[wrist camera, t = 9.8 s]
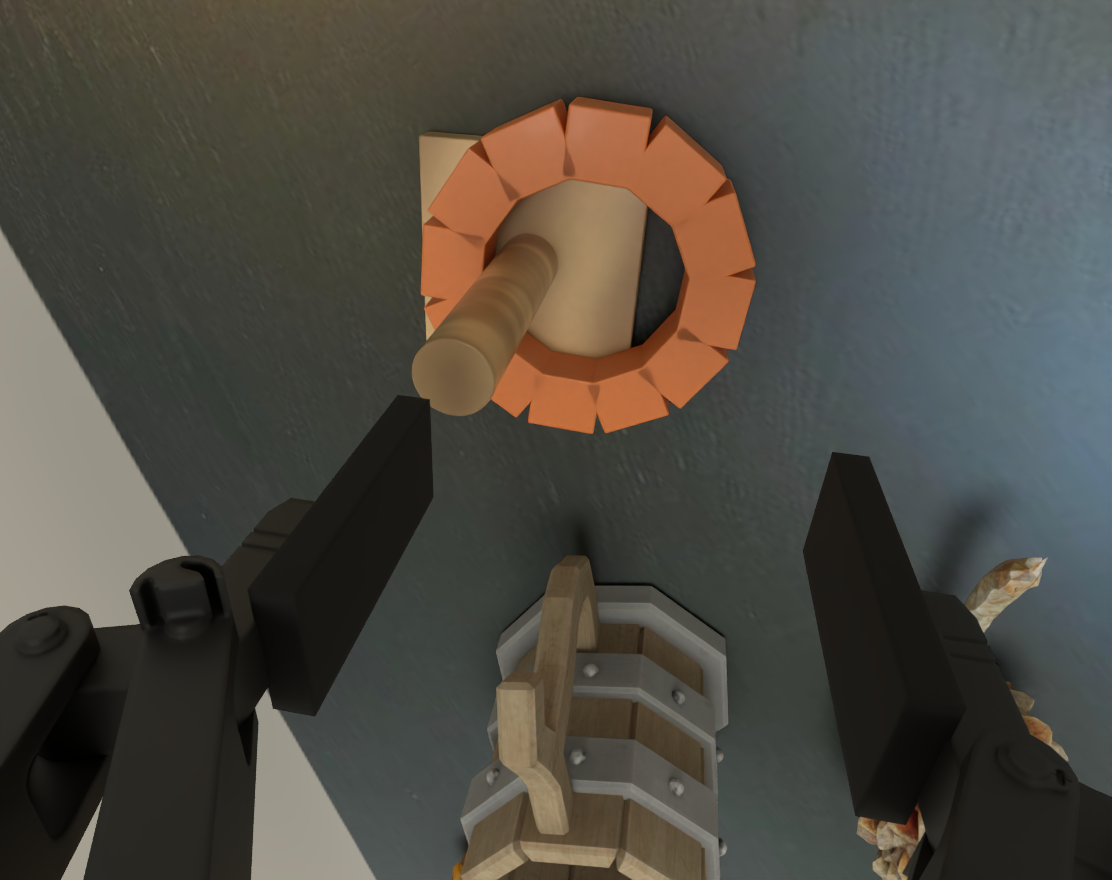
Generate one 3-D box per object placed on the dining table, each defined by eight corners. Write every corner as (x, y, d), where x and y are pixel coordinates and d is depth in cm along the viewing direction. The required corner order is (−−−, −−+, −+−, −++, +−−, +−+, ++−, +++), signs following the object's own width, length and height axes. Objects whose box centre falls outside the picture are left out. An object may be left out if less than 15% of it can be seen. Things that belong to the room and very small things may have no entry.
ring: (786, 129, 26) (797, 140, 24) (703, 426, 32) (706, 455, 30) (446, 75, 26) (427, 80, 24) (431, 378, 33) (416, 403, 31)
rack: (654, 150, 28) (630, 233, 17) (629, 364, 32) (598, 530, 22) (427, 130, 29) (278, 197, 18) (434, 340, 33) (317, 488, 23)
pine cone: (1011, 793, 42) (1091, 989, 34) (835, 788, 44) (869, 971, 36) (1067, 473, 32) (1203, 641, 23) (834, 488, 34) (881, 645, 25)
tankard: (729, 744, 44) (743, 1044, 31) (526, 734, 47) (462, 1007, 34) (718, 462, 34) (732, 729, 22) (463, 470, 37) (341, 713, 24)
